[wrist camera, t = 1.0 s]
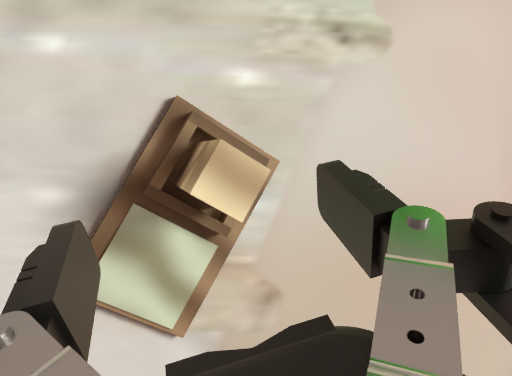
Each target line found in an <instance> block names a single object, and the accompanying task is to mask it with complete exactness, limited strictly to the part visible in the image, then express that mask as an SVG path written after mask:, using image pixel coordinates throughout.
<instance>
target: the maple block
mask: <svg viewBox="0 0 512 376" xmlns="http://www.w3.org/2000/svg"><path fill="white" fill-rule="evenodd" d="M270 171H271V170H270V169H268V168H267V167H265V166H263V165H262V164H260V163H259V162H257V161H255V160H254V159H252V158H251V157H249V156H247V155H246V154H244V153H243V152H241V151H240V150H238V149H236V148H235V147H233V146H232V145H230V144H228V143H227V142H225V141H224V140H222V139H218V140H211V141H204V142H197V144H196V146H195V147H194V149H193V151H192V153H191V154H190V156H189V158H188V160H187V161H186V163H185V165H184V167H183V168H182V170H181V172H180V174H179V175H178V177H177V179H176V180H175V182H174V184H175V185H176V186H178V187H179V188H181V189H183V190H184V191H186V192H187V193H189V194H191V195H193V196H194V197H196V198H198V199H200V200H202V201H204V202H205V203H207V204H209V205H211V206H213V207H215V208H216V209H218V210H220V211H222V212H224V213H226V214H227V215H229V216H231V217H233V218H235V219H237V220H238V221H240V222H243V220H244V219H245V217H246V215H247V213H248V211H249V210H250V208H251V206H252V204H253V202H254V200H255V199H256V197H257V195H258V193H259V191H260V190H261V188H262V186H263V184H264V182H265V180H266V179H267V177H268V175H269V173H270Z"/></svg>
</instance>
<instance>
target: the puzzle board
mask: <svg viewBox="0 0 512 376" xmlns="http://www.w3.org/2000/svg"><path fill="white" fill-rule="evenodd" d="M218 139H222V140H224V141H225V142H227V143H228V144H230V145H232V146H233V147H235V148H236V149H238V150H240V151H241V152H243V153H244V154H246V155H247V156H249V157H251V158H252V159H254V160H255V161H257V162H259V163H260V164H262V165H263V166H265V167H267V168H268V169H270V170H271V171H270V173H269V175H268V177H267V179H266V180H265V182H264V184H263V186H262V188H261V190H260V191H259V193H258V195H257V197H256V199H255V200H254V202H253V204H252V206H251V208H250V210H249V211H248V213H247V215H246V217H245V219H244V220H243V222H240V221H238V220H237V219H235V218H233V217H231V216H229V215H227V214H226V213H224V212H222V211H220V210H218V209H216V208H215V207H213V206H211V205H209V204H207V203H205V202H204V201H202V200H200V199H198V198H196V197H194V196H193V195H191V194H189V193H187V192H186V191H184V190H183V189H181V188H179V187H178V186H176V185H175V184H174V182H175V180H176V179H177V177H178V175H179V174H180V172H181V170H182V168H183V167H184V165H185V163H186V161H187V160H188V158H189V156H190V154H191V153H192V151H193V149H194V147H195V146H196V144H197V142H204V141H211V140H218ZM279 162H280V161H278V160H277V159H275V158H274V157H272V156H271V155H269V154H267V153H266V152H264V151H263V150H261V149H260V148H258V147H257V146H255V145H253V144H252V143H250V142H249V141H247V140H246V139H244V138H243V137H241V136H239V135H238V134H236V133H235V132H233V131H232V130H230V129H229V128H227V127H225V126H224V125H222V124H221V123H219V122H218V121H216V120H215V119H213V118H211V117H210V116H208V115H207V114H205V113H204V112H202V111H201V110H199V109H198V108H196V107H194V106H193V105H191V104H190V103H188V102H187V101H185V100H184V99H182V98H180V97H179V96H176V97H175V99H174V100H173V102H172V104H171V105H170V107H169V109H168V111H167V112H166V114H165V116H164V117H163V119H162V121H161V122H160V124H159V126H158V128H157V129H156V131H155V133H154V134H153V136H152V138H151V139H150V141H149V143H148V144H147V146H146V148H145V150H144V151H143V153H142V155H141V156H140V158H139V160H138V161H137V163H136V165H135V166H134V168H133V170H132V172H131V173H130V175H129V177H128V178H127V180H126V182H125V183H124V185H123V187H122V189H121V190H120V192H119V194H118V195H117V197H116V199H115V200H114V202H113V204H112V205H111V207H110V209H109V211H108V212H107V214H106V216H105V217H104V219H103V221H102V222H101V224H100V226H99V228H98V229H97V231H96V233H95V234H94V236H93V238H92V239H91V241H90V242H91V244H92V246H93V249H94V251H95V253H96V256H97V258H98V261H99V265H100V271H101V277H100V284H99V290H98V296H97V303H96V304H97V305H100V306H102V307H105V308H107V309H110V310H112V311H115V312H117V313H120V314H123V315H125V316H128V317H130V318H133V319H135V320H138V321H141V322H143V323H146V324H148V325H151V326H153V327H156V328H159V329H161V330H164V331H166V332H169V333H171V334H174V335H176V336H179V337H182V338H183V337H184V335H185V333H186V331H187V329H188V328H189V326H190V324H191V322H192V320H193V319H194V317H195V315H196V313H197V311H198V309H199V308H200V306H201V304H202V302H203V300H204V298H205V297H206V295H207V293H208V291H209V289H210V288H211V286H212V284H213V282H214V280H215V278H216V277H217V275H218V273H219V271H220V269H221V268H222V266H223V264H224V262H225V260H226V258H227V257H228V255H229V253H230V251H231V249H232V247H233V246H234V244H235V242H236V240H237V238H238V237H239V235H240V233H241V231H242V229H243V227H244V226H245V224H246V222H247V220H248V218H249V217H250V215H251V213H252V211H253V209H254V207H255V206H256V204H257V202H258V200H259V198H260V196H261V195H262V193H263V191H264V189H265V187H266V186H267V184H268V182H269V180H270V178H271V176H272V175H273V173H274V171H275V169H276V167H277V166H278V164H279Z"/></svg>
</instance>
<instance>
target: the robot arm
mask: <svg viewBox="0 0 512 376" xmlns="http://www.w3.org/2000/svg"><path fill="white" fill-rule="evenodd" d="M317 193H318V207H319V211H320V214H321V216H322V218H323V219H324V221H325V222H326V223H327V224H328V226H329V227H330V228H331V229H332V231H333V232H334V233H335V234H336V236H337V237H338V238H339V239H340V241H341V242H342V243H343V244H344V246H345V247H346V248H347V249H348V251H349V252H350V253H351V255H352V256H353V257H354V258H355V260H356V261H357V262H358V263H359V265H360V266H361V267H362V268H363V269H364V271H365V272H366V273H367V275H368V276H369V277H370V278H374V277H377V276H380V275H382V281H381V287H380V294H379V302H378V308H377V315H376V321H375V328H374V332H372V331H369V330H365V329H361V328H356V327H349V326H348V327H347V326H334V325H333V323H332V322H331V320H330V318H329V316H328V315H324V316H321V317H318V318H315V319H312V320H308V321H305V322H302V323H299V324H295V325H292V326H289V327H288V328H286V329H284V330H283V331H281V332H279V333H278V334H276V335H274V336H273V337H271V338H269V339H267V340H266V341H264V342H262V343H261V344H259V345H257V346H255V347H253V348H249V349H237V350H225V351H212V352H206V353H202V354H199V355H196V356H193V357H190V358H186V359H183V360H180V361H177V362H174V363H170V364H167V365H165V367H166V376H466V375H464V374H462V365H461V351H460V339H459V326H458V314H457V301H456V293H463V294H464V295H465V296H466V297H467V298H468V299H469V300H470V301H471V303H473V305H474V306H475V307H476V308H477V309H478V310H479V311H480V312H481V313H482V314H483V315H484V316H485V317H486V318H487V319H488V320H489V321H490V322H491V323H492V324H493V325H494V326H495V327H496V328H497V330H498V331H499V332H500V333H501V334H502V335H503V336H504V337H505V338H506V339H507V340H508V341H509V342H510V343H511V344H512V204H509V203H505V202H494V201H492V202H484V203H481V204H478V205H477V206H476V207H475V208H474V211H473V216H472V219H454V220H453V219H452V220H445V218H444V217H443V216H442V215H441V214H440V213H439V212H437V211H435V210H433V209H431V208H428V207H423V206H407V205H406V204H405V203H403V202H402V201H401V200H400V199H399V198H397V197H396V196H395V195H394V194H392V193H391V192H390V191H389V190H387V189H385V187H384V186H382V185H381V184H380V183H378V182H377V181H376V180H375V179H374V178H372V177H371V176H370V175H369V174H366V173H363V172H361V171H358V170H351V169H349V168H348V167H347V166H346V165H344V163H343V162H341V161H340V160H336V161H331V162H327V163H323V164H319V165H318V166H317ZM100 277H101V271H100V265H99V261H98V258H97V256H96V253H95V251H94V249H93V246H92V244H91V242H90V239H89V237H88V235H87V232H86V230H85V228H84V226H83V224H82V222H81V221H79V220H77V221H73V222H69V223H64V224H60V225H56V226H53V227H52V229H51V232H50V234H49V237H48V239H47V242H46V244H43V245H39V246H38V247H37V248H36V249H35V250H34V251H33V252H32V253H31V254H30V255H29V256H28V257H27V258H26V260H25V262H24V265H23V267H22V269H21V272H20V274H19V276H18V278H17V283H15V285H14V287H13V289H12V291H11V294H10V296H9V298H8V300H7V303H6V305H5V307H4V309H3V311H2V314H1V315H0V376H101V375H100V374H99V373H98V372H97V371H95V370H94V369H93V368H92V367H91V366H90V365H89V364H88V363H87V360H88V354H89V347H90V341H91V335H92V328H93V322H94V315H95V309H96V303H97V296H98V290H99V284H100Z"/></svg>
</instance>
